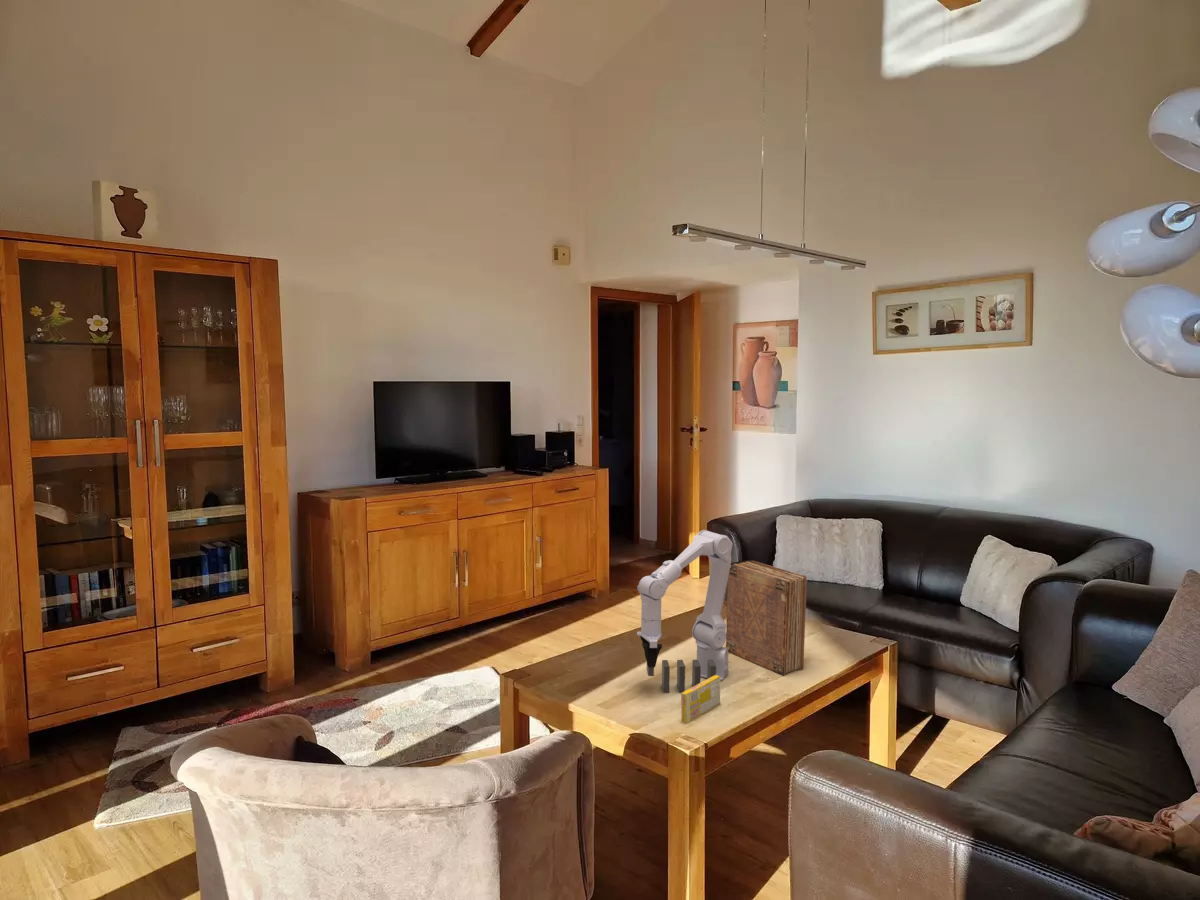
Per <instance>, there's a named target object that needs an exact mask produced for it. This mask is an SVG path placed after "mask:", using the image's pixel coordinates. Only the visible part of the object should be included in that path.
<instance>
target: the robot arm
mask: <svg viewBox="0 0 1200 900" xmlns="http://www.w3.org/2000/svg"><path fill="white" fill-rule="evenodd" d="M733 544H734V543H733V542H732V540H731V538H729V536H728V535H725V534H719V533H716V532H712V531H710V530H707V529H702V530H700V531H699V532H698V533H697V534H696V535H693V539H692V542H691V543H690V544H689V545H688V546H687V547H686V548H685V549H684V550H683V551H682V552H681V553H680V554H679V555H678V556H677V557H676V558H675V559H674V560H671V559H669V560H665V561H664V562H662V565H661V566H659V567H658V568H656V570H654V571H653V572H652V573H651V574H650V575H646V576H643V577H642V578H641V579H640V580H639V582H638V585H637V591H638V593H639V595H640V600H641V608H640V609H641V610H640V611H641V613H640V614H641V616H640V617H641V618H640V619H641V620H640V623H641V625H640V629H641V630H640V631H637V632H636V635H637V636H638V637H640V640H641V642H642V643H641V645H642V648H643V650H644V657H645V660H646V666H647V665H648V667H654V668H656V666H657V663H658V662H657V661H658V656H659V654H660V653H661V652H660V651H661V650H662V648H663V643H658V641H659V640H660V639H661V637H662V598H663V597H665V594H666V592H667V590H668V588H669V586H670V585H672V584H673V583H674V582H675V581H676V580H677V579H678V578H679V577H681V575H682V571H683V569H684V568H685V567H687V566H688V565H689V564H691V563H692V562H694V561H695V560H696V559H698V558H700V556H707V557H708V558H709V560H710V561H711V569H710V574H709V580H708V586H707V590H706V596H705V600H704V601H705V602H704V605H703V611H702V613H700V614H698V615H697V616H696V621H695V622H694V624H693V626H692V630H691V635H692V638H694V640H695V644H696V660H698V661H699V664H700V666H701V676H700V678H706V679H707V664H708V660H713V661H714V663H715V665H716V675H717V676H720V681H724V678H726V675H727V674H728V673H729V652H728V648H726V646H725V647H724V644H726V622H725V620H724V619H723V617H722V612H723V607H724V601H725V596H726V593H727V581H728V576H729V570H730V565H731V563H732V548H733Z"/></svg>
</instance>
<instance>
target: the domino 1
mask: <svg viewBox="0 0 1200 900" xmlns="http://www.w3.org/2000/svg"><path fill="white" fill-rule="evenodd" d="M646 673H647V676H648V677H655V667H648V665H647V664H646Z"/></svg>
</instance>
